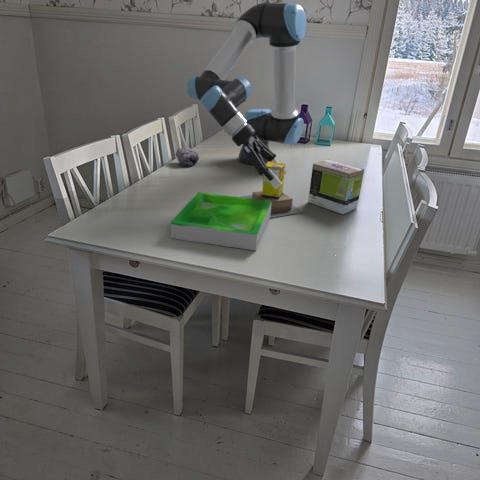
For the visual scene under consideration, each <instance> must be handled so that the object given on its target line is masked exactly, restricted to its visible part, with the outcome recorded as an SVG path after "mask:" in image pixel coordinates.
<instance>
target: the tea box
mask: <svg viewBox="0 0 480 480" xmlns="http://www.w3.org/2000/svg"><path fill="white" fill-rule="evenodd" d="M364 174H365V169H364V168H362V167H358V166H354V165H351V164H347V163H344V162H340V161H335V160H332V159H325V160H322V161H321V160H320V161H318V162H315V163H314V162H313V163H312V169H311V175H310V176H311V177H310V183H309V191H308V192H309V193H308V203H310V204H313V205H315V206H319V207H321V208H323V209H327V210H330V211H333V212H335V213H338V214H341V215H345V214H347V213H350V212H352V211H354V210H355V209H357V208H358V204H359V202H360V201H359V199H360V194H361V189H362V184H363V179H364V178H363V177H364Z"/></svg>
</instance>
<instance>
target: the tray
mask: <svg viewBox="0 0 480 480" xmlns="http://www.w3.org/2000/svg"><path fill="white" fill-rule="evenodd" d="M271 204H272V201H265V200H257V199H249V198H241V196H234V195H233V196H232V195H225V194H223V195H222V194H217V193H216V194H215V193H214V194H213V193H209V192H200V191H199V192H197V193H196V194H195V195H194V196H193V197H191V199H190V201H188V203H187V204H186V205H185V206H184V207H183V208H182V209H181V210H180V212H178V214H177V215H176V216H175V217H174V218H173V219H172V220H171V221H170V239H177V240H182V241H189V242H195V243H201V244H202V243H203V244H210V245H215V246H223V247H230V248H236V249H243V250H249V251H257V250H258V246H259V244H260V242H261V239H262V237H263V234H264V232H265V230H266V227H267V225H268V223H269V220H270V219H269V218H270V216H271Z"/></svg>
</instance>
